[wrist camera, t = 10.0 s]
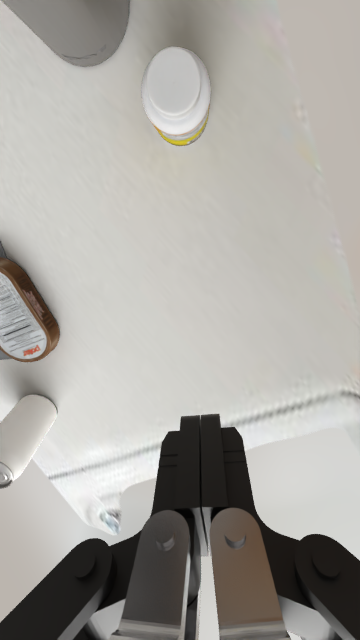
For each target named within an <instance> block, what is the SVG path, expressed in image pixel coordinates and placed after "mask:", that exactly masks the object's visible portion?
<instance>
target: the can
mask: <svg viewBox="0 0 360 640" xmlns="http://www.w3.org/2000/svg"><path fill="white" fill-rule="evenodd" d="M56 417H57V410H56V407H55V405H54V404H53V403H52V402H51V401H50V400H49V399H48V398H46V397H44V396H41V395H27V396H25V397H23V398H22V399H21V400H20V401H19V402H18V403H17V404H16V405H15V407H14V408H13V409H12V410H11V411H10V412H9V414H8V415H7V416H6V417H5V418H4V419H3V421H2V422H1V423H0V489H2V488H6V487H8V486H10V485H11V484H12V482H13V480H15V479H16V478H18V477H19V476H20V475H21V473H22V472H23V471H24V469H25V468H26V466H27V465H28V463H29V461H30V460H31V458H32V457H33V455H34V453H35V452H36V450H37V449H38V447H39V445H40V444H41V442H42V441H43V439H44V437H45V436H46V434H47V433H48V431H49V429H50V428H51V426H52V425H53V423H54V421H55V419H56Z"/></svg>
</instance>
